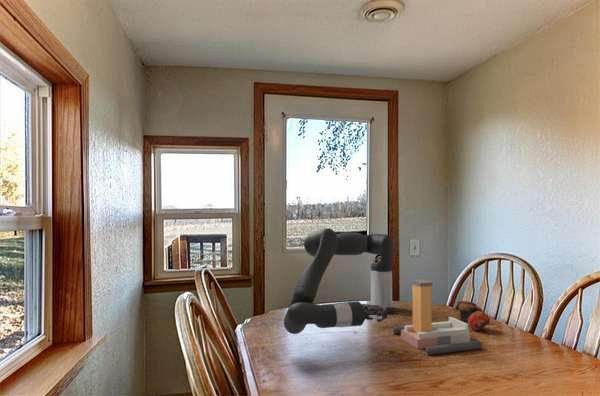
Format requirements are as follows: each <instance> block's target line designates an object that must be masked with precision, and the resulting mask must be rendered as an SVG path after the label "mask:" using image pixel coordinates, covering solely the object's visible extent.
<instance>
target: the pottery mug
mask: <svg viewBox="0 0 600 396" xmlns="http://www.w3.org/2000/svg"><path fill="white" fill-rule="evenodd" d="M454 309H455V311H457V310H458V311H459V314H456V315H455V317H456V319H457V320H460V321H462V322H466V323H468V318H469V317H470V315H471V313H470V312H469V311H471V312H473V313H475V312H476V311H482V312H483V310H482V308H481V307H480V306H478V305H477V304H476V303H474V302H472V301H465V300H461V301H457V304H456V306H455V307H454Z"/></svg>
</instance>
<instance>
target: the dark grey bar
mask: <svg viewBox="0 0 600 396" xmlns="http://www.w3.org/2000/svg"><path fill="white" fill-rule="evenodd" d="M482 347H483V343H482V342H481V341H480V340H473V341H472V340H470V342H462V343H454V344H446V345H437V346H429V347H427V348H425V353H426V354H427V355H429V356H432V355H441V354H447V353H456V352H463V351H464V352H465V351H471V350H472V351H473V350H478V349H479V350H480V349H482Z"/></svg>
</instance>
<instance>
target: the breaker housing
mask: <svg viewBox="0 0 600 396" xmlns="http://www.w3.org/2000/svg"><path fill="white" fill-rule="evenodd" d="M403 326H404V330H401V333H400V340H403V341H404V342H406V343H407V344H409V345H410V346H412V347H414V348H415V349H416V350H421V349H426V348H427V347H429V346H437V345H446V344H454V343H462V342H471V339H470V338H471V333H469V331H470V328H469V327H470V326H469V323H468V322H465V321H462V320H457V318H455V317H452V316H448V321H439V322H438V321H437V322H432V331H428V332H418V333H416V332H415V331H413V324H410V325H403Z"/></svg>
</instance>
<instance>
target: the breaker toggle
mask: <svg viewBox="0 0 600 396" xmlns="http://www.w3.org/2000/svg"><path fill="white" fill-rule="evenodd" d="M411 285H412V287H411V289H412V293H411V294H412V325H413V331H415V332H416V333H418V332H428V331H432V323H433V322H432V321H433V320H432V318H433V317H432V315H433V314H432V287H433V282H432V281H430V280H426V279H424V278H422V279H419V278H418V279H411Z"/></svg>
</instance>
